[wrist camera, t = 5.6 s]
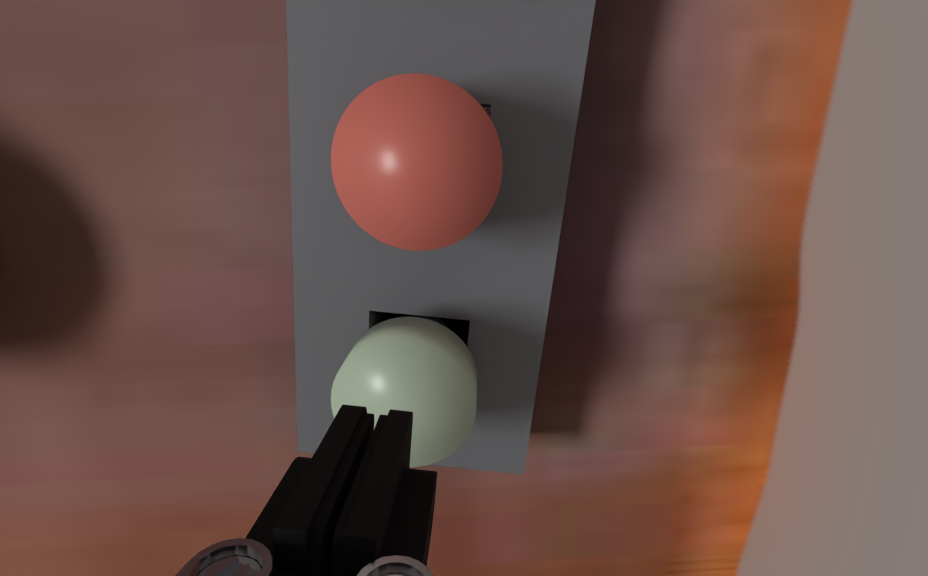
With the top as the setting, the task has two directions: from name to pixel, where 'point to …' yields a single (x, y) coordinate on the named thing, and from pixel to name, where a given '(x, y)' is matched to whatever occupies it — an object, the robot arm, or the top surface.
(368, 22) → the button panel
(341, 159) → the button red
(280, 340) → the top surface
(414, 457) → the button sage
